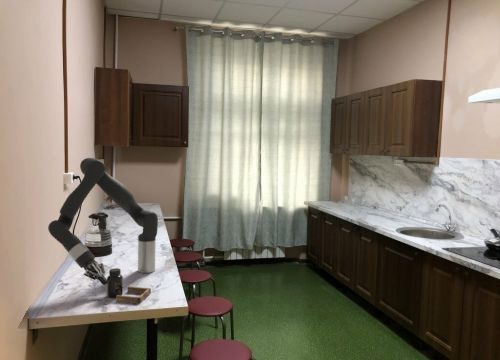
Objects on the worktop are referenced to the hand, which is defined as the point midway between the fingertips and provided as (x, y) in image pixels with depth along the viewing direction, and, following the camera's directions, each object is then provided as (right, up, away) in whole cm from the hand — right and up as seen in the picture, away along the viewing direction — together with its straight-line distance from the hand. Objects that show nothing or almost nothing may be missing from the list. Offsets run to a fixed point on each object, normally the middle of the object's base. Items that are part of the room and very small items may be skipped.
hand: (106, 283), depth 175 cm
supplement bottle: (+4, -6, 0) cm, 7 cm away
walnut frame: (+12, -6, -1) cm, 14 cm away
